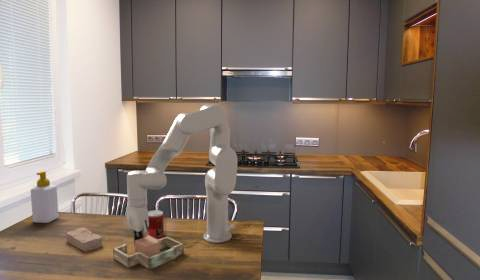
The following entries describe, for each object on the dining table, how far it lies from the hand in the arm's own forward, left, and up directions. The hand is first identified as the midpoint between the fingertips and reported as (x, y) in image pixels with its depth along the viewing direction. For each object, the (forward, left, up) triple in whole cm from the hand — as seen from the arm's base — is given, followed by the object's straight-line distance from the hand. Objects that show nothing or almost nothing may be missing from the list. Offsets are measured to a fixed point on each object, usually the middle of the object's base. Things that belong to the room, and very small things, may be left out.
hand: (138, 244), depth 147 cm
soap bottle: (+12, -65, -3) cm, 67 cm away
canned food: (-13, -7, -3) cm, 15 cm away
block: (0, +6, -3) cm, 7 cm away
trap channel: (0, +7, -3) cm, 8 cm away
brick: (+12, -23, -3) cm, 26 cm away
